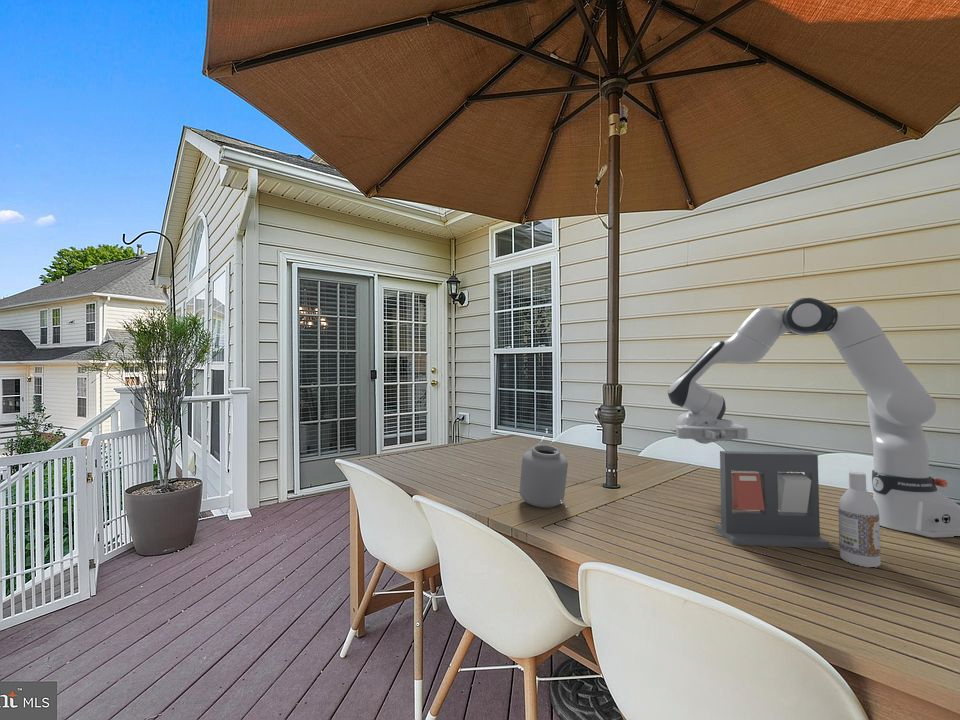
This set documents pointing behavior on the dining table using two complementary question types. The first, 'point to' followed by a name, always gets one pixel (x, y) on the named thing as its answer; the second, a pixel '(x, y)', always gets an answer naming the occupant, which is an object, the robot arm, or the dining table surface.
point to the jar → (543, 476)
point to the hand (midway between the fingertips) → (720, 435)
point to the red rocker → (746, 491)
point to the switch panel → (770, 501)
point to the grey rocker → (793, 492)
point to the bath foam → (859, 524)
